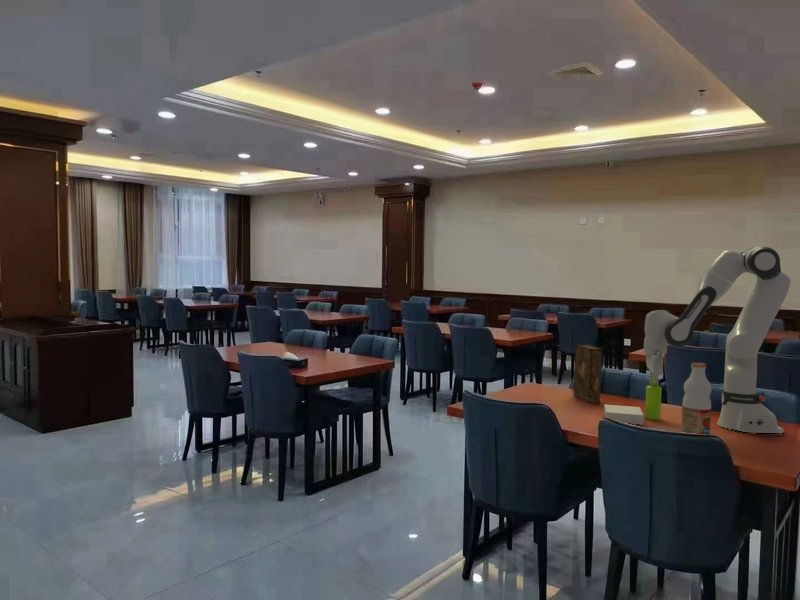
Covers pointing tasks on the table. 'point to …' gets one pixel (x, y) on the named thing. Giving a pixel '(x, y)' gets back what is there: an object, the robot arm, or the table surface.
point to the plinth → (624, 414)
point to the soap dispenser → (653, 400)
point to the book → (588, 373)
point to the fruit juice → (696, 402)
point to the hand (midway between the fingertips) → (653, 381)
